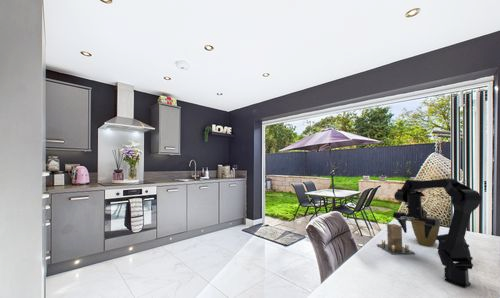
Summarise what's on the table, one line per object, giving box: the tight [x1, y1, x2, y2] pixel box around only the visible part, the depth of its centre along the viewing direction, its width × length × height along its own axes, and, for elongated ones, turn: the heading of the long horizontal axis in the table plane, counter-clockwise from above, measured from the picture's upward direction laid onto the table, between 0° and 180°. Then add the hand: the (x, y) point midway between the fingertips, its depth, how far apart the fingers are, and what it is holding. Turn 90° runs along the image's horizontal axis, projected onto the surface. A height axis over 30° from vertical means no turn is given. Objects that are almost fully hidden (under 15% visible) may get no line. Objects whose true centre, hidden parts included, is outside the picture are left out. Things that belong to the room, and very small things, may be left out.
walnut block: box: [386, 223, 403, 250], centre depth 125 cm, size 5×5×13 cm
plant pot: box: [410, 217, 441, 247], centre depth 136 cm, size 15×15×16 cm
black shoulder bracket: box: [436, 233, 473, 264], centre depth 112 cm, size 4×13×15 cm, turn 27°
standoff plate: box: [376, 239, 416, 256], centre depth 125 cm, size 13×13×4 cm
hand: (415, 235), depth 110 cm, fingers open, 9 cm apart
